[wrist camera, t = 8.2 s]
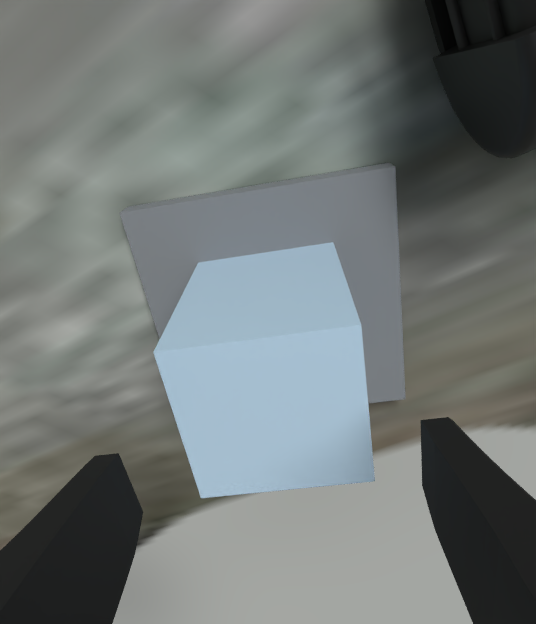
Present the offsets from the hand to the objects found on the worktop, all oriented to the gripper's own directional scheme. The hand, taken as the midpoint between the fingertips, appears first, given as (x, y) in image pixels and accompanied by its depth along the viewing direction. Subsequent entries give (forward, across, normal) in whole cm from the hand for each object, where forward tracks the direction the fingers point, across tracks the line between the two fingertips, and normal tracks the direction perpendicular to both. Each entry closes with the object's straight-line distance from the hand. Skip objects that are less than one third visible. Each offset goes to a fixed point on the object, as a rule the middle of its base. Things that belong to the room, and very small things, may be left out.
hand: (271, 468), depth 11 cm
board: (+9, 0, 0) cm, 9 cm away
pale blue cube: (+8, 0, 0) cm, 8 cm away
